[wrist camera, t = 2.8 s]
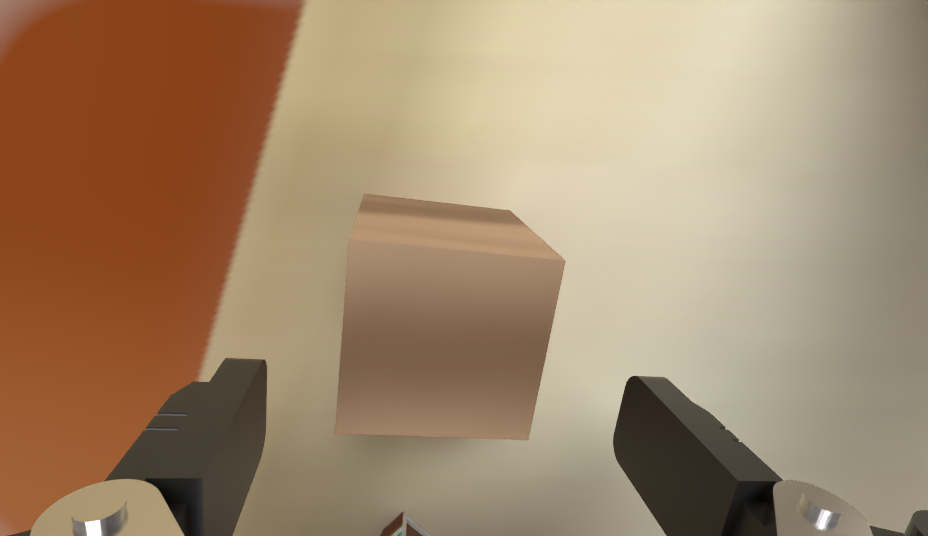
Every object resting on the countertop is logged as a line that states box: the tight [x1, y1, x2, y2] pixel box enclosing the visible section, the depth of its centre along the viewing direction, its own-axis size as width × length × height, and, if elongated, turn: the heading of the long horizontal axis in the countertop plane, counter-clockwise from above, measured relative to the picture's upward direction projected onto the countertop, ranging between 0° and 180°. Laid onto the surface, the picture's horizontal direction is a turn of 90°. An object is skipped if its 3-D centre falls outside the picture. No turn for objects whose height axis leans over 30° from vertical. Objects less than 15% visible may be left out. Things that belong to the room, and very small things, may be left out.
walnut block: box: [335, 194, 565, 440], centre depth 15 cm, size 5×5×6 cm
